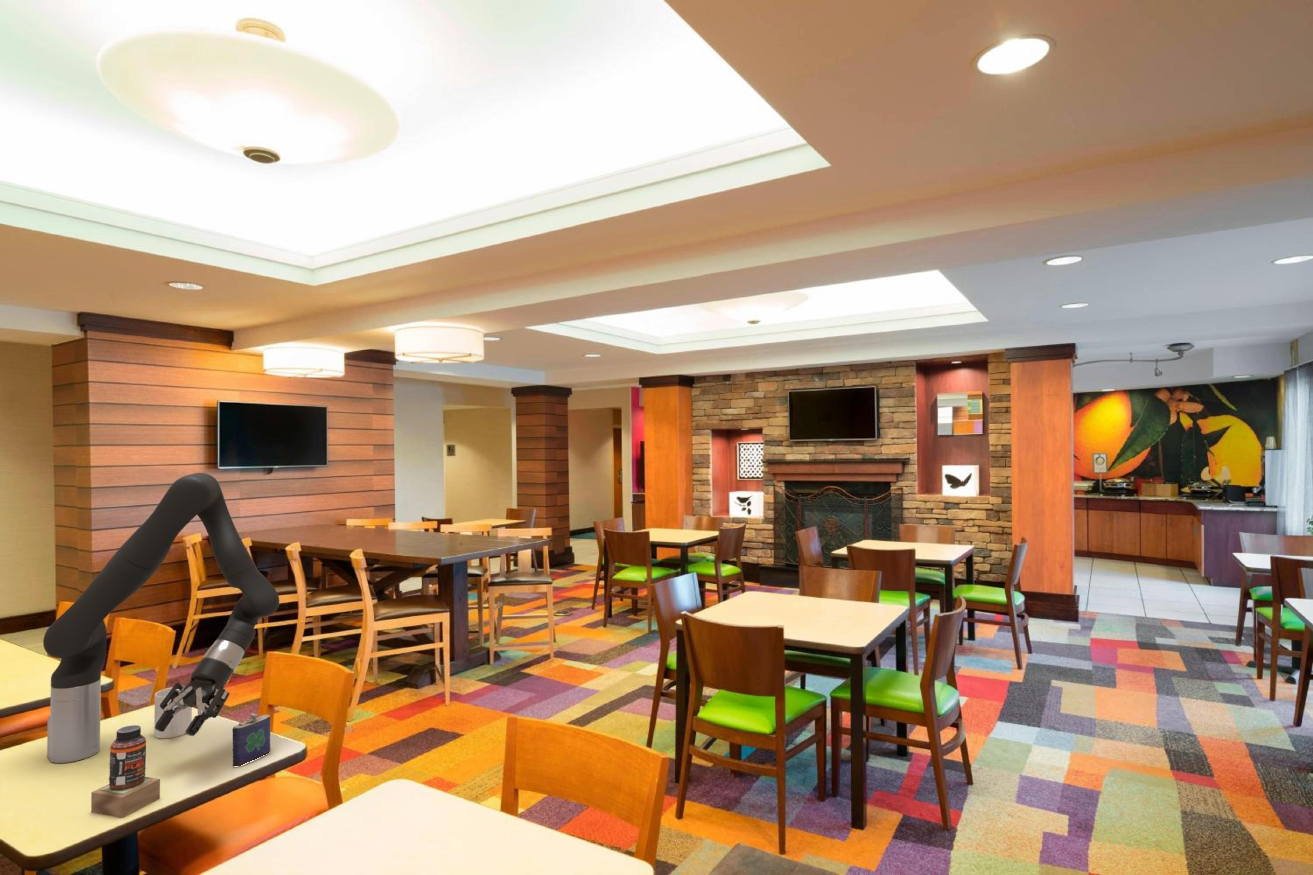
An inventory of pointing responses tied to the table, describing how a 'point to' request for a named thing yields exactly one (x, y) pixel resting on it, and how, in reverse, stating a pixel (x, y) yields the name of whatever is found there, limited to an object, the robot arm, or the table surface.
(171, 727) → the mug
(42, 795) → the table surface
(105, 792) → the block
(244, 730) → the flask
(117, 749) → the supplement bottle
